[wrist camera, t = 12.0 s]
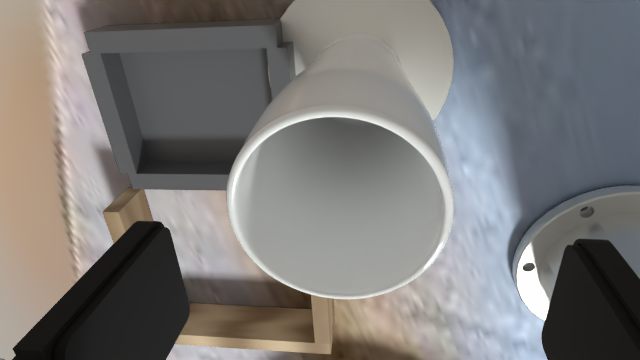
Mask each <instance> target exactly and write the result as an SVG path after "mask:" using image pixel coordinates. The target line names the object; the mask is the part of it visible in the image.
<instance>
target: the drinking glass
mask: <svg viewBox="0 0 640 360" xmlns="http://www.w3.org/2000/svg"><path fill="white" fill-rule="evenodd" d="M226 203H227V212H228V216H229V220H230V223H231V226H232V229H233V231H234V234H235V236H236V238H237V240H238V241H239V243H240V245H241V246H242V248H243V249H244V250H245V252H246V253H247V254H248V256H249V257H250V258H251V259H252V260H253V261H254V262H255V263H256V264H257V265H258V266H259V267H260V268H261V269H262V270H264V271H265V272H266V273H267V274H269V275H270V276H272V277H273V278H275V279H276V280H278V281H280V282H281V283H283V284H285V285H287V286H289V287H291V288H294V289H296V290H299V291H301V292H304V293H307V294H311V295H315V296H319V297H325V298H333V299H360V298H368V297H373V296H377V295H381V294H384V293H387V292H390V291H393V290H395V289H397V288H400V287H402V286H404V285H406V284H407V283H409V282H411V281H412V280H414V279H415V278H417V277H418V276H419V275H421V274H422V273H423V272H424V271H425V270H426V269H427V268H428V267H429V266H430V265H431V264H432V263H433V262H434V261H435V260H436V258H437V257H438V256H439V254H440V253H441V251H442V249H443V248H444V246H445V244H446V242H447V239H448V237H449V234H450V231H451V228H452V223H453V218H454V196H453V190H452V186H451V182H450V177H449V171H448V167H447V162H446V158H445V155H444V151H443V148H442V144H441V141H440V138H439V135H438V132H437V130H436V127H435V125H434V122H433V120H432V118H431V116H430V114H429V112H428V110H427V108H426V106H425V104H424V103H423V101H422V99H421V97H420V96H419V94H418V93H417V91H416V90H415V88H414V86H413V85H412V83H411V82H410V80H409V78H408V77H407V75H406V74H405V72H404V70H403V69H402V65H401V62H400V60H399V58H398V56H397V54H396V53H395V51H394V50H393V49H392V48H391V47H390V46H389V45H388V44H387V43H386V42H385V41H383V40H382V39H380V38H378V37H376V36H373V35H370V34H365V33H351V34H346V35H343V36H340V37H338V38H336V39H334V40H333V41H331V42H330V43H329V44H327V45H326V46H325V47H324V48H323V49H322V51H321V52H320V53H319V55H318V56H317V58H316V59H314V60H313V61H312V62H311V63H310V64H309V65H308V66H307V67H306V68H304V69H303V70H302V71H301V72H300V73H299V74H298V75H297V76H295V77H294V78H293V79H292V80H291V81H290V82H289V83H288V84H287V85H286V86H285V87H284V88H283V89H282V90H281V91H280V92H279V93H278V94H277V95H276V96H275V98H274V99H273V100H272V101H271V102H270V104H269V105H268V106H267V107H266V109H265V110H264V112H263V113H262V115H261V116H260V117H259V119H258V121H257V122H256V124H255V125H254V127H253V128H252V130H251V132H250V133H249V135H248V137H247V139H246V141H245V143H244V145H243V146H242V148H241V150H240V152H239V154H238V155H237V157H236V159H235V161H234V163H233V166H232V168H231V171H230V174H229V178H228V183H227V191H226Z"/></svg>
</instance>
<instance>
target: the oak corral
mask: <svg viewBox="0 0 640 360" xmlns="http://www.w3.org/2000/svg"><path fill="white" fill-rule="evenodd" d="M103 215H104V218H105V220H106V223H107V226H108V229H109V231H110V234H111V237H112V240H113V242H114V243H115V242H116V241H117V240H118V239H119V238H120V237H121V236H122V235H123V234H124V233H125V232H126V231H127V230H128V229H129V228H130V227H131V226H132V224H133V223H135V222H136V221H153V219H152V215H151V212H150V209H149V205H148V202H147V198H146V195H145V192H144V189H133V188H132V187H128V188H127V189H126V190H125V191H124V192H123V193H122V194H121V195H120V196H119V197H118V198H117V199H116V200H114V201H113V202H112V203H111V204H110V205H109V206H108V207H107V208H106V209H105V210H104V211H103ZM311 303H312V309H297V308H277V307H258V306H238V305H218V304H199V303H189V306H190V313H189V318H188V320H187V322H186V324H185V326H184V328H183V329H182V331H181V333H180V335H179V337H178V338H177V340H176V342H175V344H179V345H194V346H210V347H225V348H241V349H256V350H272V351H287V352H302V353H318V354H331V348H332V339H333V330H334V321H335V319H334V299H333V298H325V297H319V296H315V295H311Z"/></svg>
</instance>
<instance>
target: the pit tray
mask: <svg viewBox="0 0 640 360" xmlns="http://www.w3.org/2000/svg"><path fill="white" fill-rule="evenodd" d="M280 19H281V18H276V19H252V20H228V21H203V22H179V23H154V24H130V25H108V26H105V27H101V28H98V29H94V30H91V31H87V32H84V34H85V37H86V40H87V43H88V47H89V50H90V51H88V52H86V53H83V54H82V58H83V61H84V64H85V67H86V70H87V73H88V76H89V79H90V82H91V85H92V89H93V92H94V95H95V98H96V101H97V104H98V107H99V110H100V113H101V116H102V120H103V123H104V126H105V129H106V132H107V135H108V138H109V141H110V144H111V147H112V151H113V154H114V157H115V160H116V163H117V166H118V169H119V172H120V174H128V175H129V178H130V181H131V184H132V188H133V189H166V190H227V183H228V178H229V174H230V171H231V168H232V166H233V163H234V161H235V159H236V157H237V155H238V154H239V152H240V150H241V148H242V146H243V145H244V143H245V141H246V139H247V137H248V135H249V133H250V132H251V130H252V128H253V127H254V125H255V124H256V122H257V121H258V119H259V117H260V116H261V115H262V113H263V112H264V110H265V109H266V107H267V106H268V105H269V104H270V102H271V101H272V100H273V99H274V98H275V96H276V95H277V94H278V93H279V92H280V91H281V90H282V89H283V88H284V87H285V86H286V85H287V84H288V83H289V82H290V81H291V80H292V79H293V78H294V77H295V76H296V72H295V59H294V47H293V42H283V36H282V26H281V20H280ZM268 67H269V74H268ZM269 75H270V81H269ZM270 84H271V87H270Z"/></svg>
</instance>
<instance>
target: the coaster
mask: <svg viewBox="0 0 640 360" xmlns="http://www.w3.org/2000/svg"><path fill="white" fill-rule="evenodd" d="M280 20H281V26H282V36H283V42H293V47H294V59H295V72H296V76H297V75H298V74H299V73H300V72H301V71H302V70H303V69H304V68H306V67H307V66H308V65H309V64H310V63H311V62H312V61H313V60H314V59H316V58H317V56H318V55H319V53H320V52H321V51H322V49H323V48H324V47H325V46H326V45H327V44H329V43H330V42H331V41H333V40H334V39H336V38H338V37H340V36H343V35H346V34H351V33H365V34H370V35H373V36H376V37H378V38H380V39H382V40H383V41H385V42H386V43H387V44H388V45H389V46H390V47H391V48H392V49H393V50H394V51H395V53H396V54H397V56H398V58H399V60H400V62H401V65H402V69H403V70H404V72H405V74H406V75H407V77H408V78H409V80H410V82H411V83H412V85H413V86H414V88H415V90H416V91H417V93H418V94H419V96H420V97H421V99H422V101H423V103H424V104H425V106H426V108H427V110H428V112H429V114H430V116H431V118H432V120H433V121H434V119H435V118H436V117H437V115H438V114H439V112H440V110H441V109H442V107H443V105H444V103H445V101H446V98H447V96H448V93H449V90H450V87H451V83H452V77H453V66H454V57H453V48H452V43H451V39H450V35H449V32H448V30H447V27H446V25H445V22H444V21H443V19H442V17H441V15H440V14H439V12H438V10H437V9H436V8H435V7H434V5H433V4H432V3H431V2H430V0H295V1H294V2H293V3H292V4H291V5H290V6H289V7H288V9H287V10H286V11H285V13H284V14H283V16H282V17H281V19H280ZM268 74H269V67H268ZM269 81H270V75H269ZM270 87H271V84H270Z"/></svg>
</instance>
